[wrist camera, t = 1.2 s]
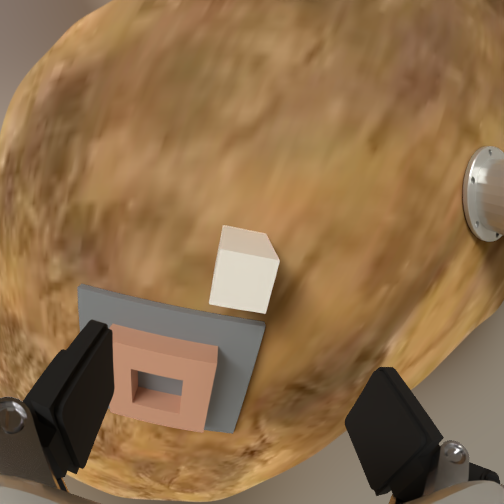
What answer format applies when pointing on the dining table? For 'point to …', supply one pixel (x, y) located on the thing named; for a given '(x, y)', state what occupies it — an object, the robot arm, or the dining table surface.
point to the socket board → (186, 328)
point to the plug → (244, 270)
